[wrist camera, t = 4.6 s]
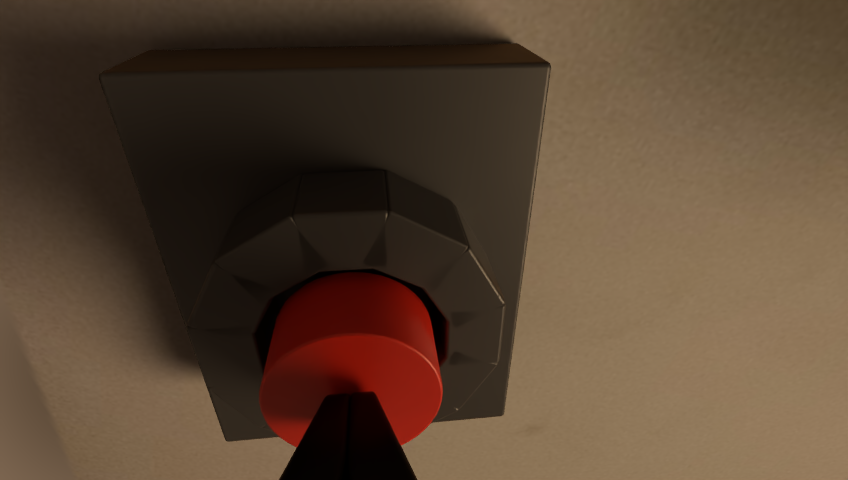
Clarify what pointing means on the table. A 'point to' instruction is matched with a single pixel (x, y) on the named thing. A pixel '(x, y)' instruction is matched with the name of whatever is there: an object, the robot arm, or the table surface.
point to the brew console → (337, 195)
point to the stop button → (351, 354)
